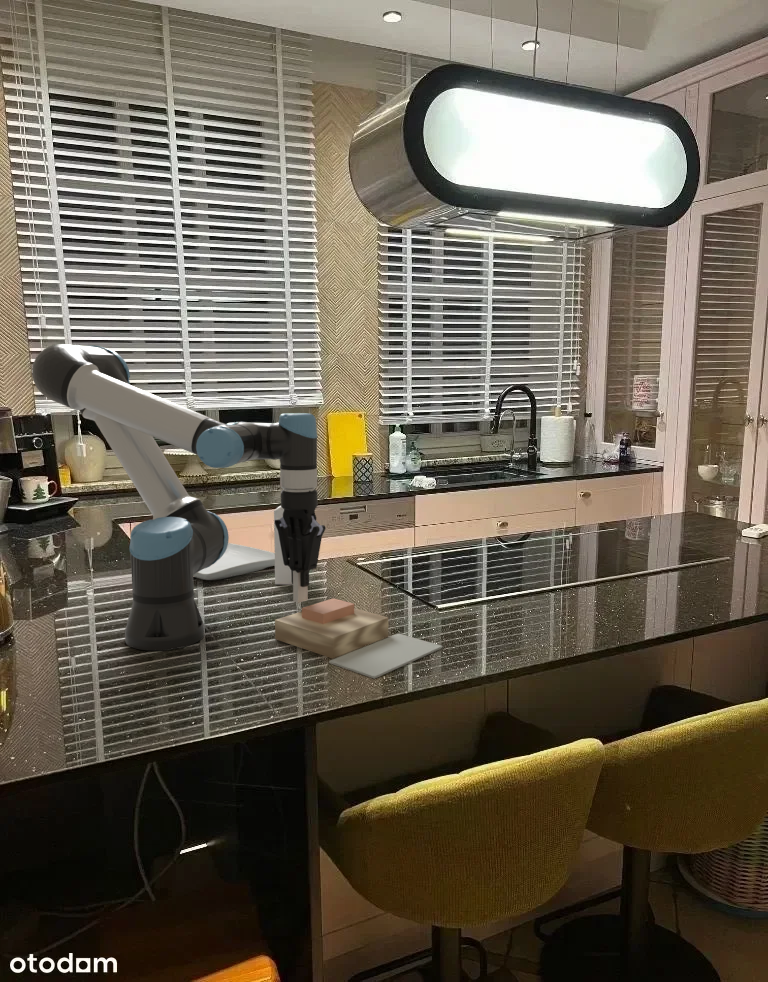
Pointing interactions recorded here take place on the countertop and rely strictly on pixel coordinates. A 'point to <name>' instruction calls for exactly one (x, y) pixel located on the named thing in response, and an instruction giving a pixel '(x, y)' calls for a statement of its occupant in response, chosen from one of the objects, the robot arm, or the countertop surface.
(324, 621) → the pink block
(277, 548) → the milk
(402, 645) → the mat
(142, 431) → the robot arm
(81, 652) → the countertop surface
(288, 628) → the board
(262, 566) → the square plate
